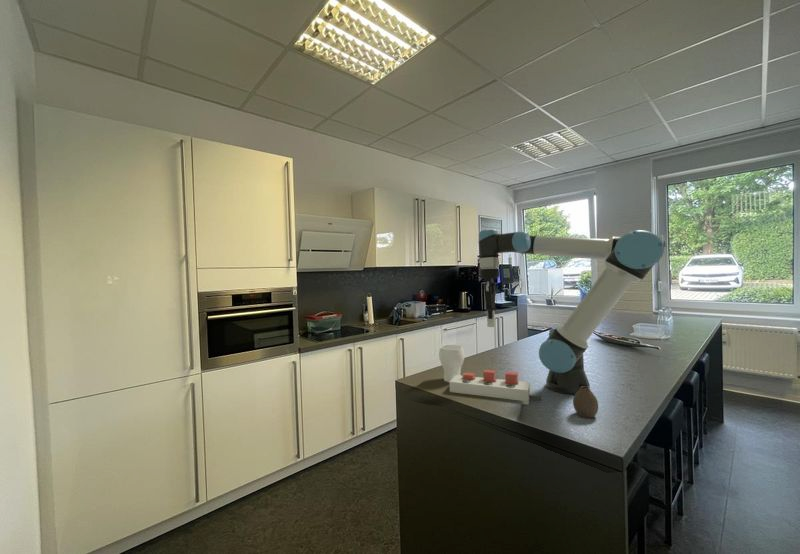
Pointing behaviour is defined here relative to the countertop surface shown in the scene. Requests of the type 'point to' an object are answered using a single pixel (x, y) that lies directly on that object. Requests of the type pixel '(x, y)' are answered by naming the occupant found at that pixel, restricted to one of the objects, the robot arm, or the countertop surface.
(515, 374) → the button
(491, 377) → the button
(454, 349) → the cup
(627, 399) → the countertop surface
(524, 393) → the strip
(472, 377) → the button
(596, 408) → the vase
